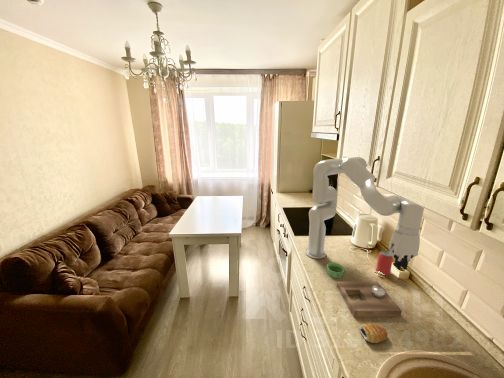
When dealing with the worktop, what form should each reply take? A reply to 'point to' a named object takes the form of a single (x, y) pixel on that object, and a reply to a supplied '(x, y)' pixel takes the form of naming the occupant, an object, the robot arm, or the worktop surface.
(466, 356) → the worktop surface
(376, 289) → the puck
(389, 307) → the wooden board with recess
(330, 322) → the worktop surface
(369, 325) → the pastry
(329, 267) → the ramekin
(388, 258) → the beer can
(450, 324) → the worktop surface
